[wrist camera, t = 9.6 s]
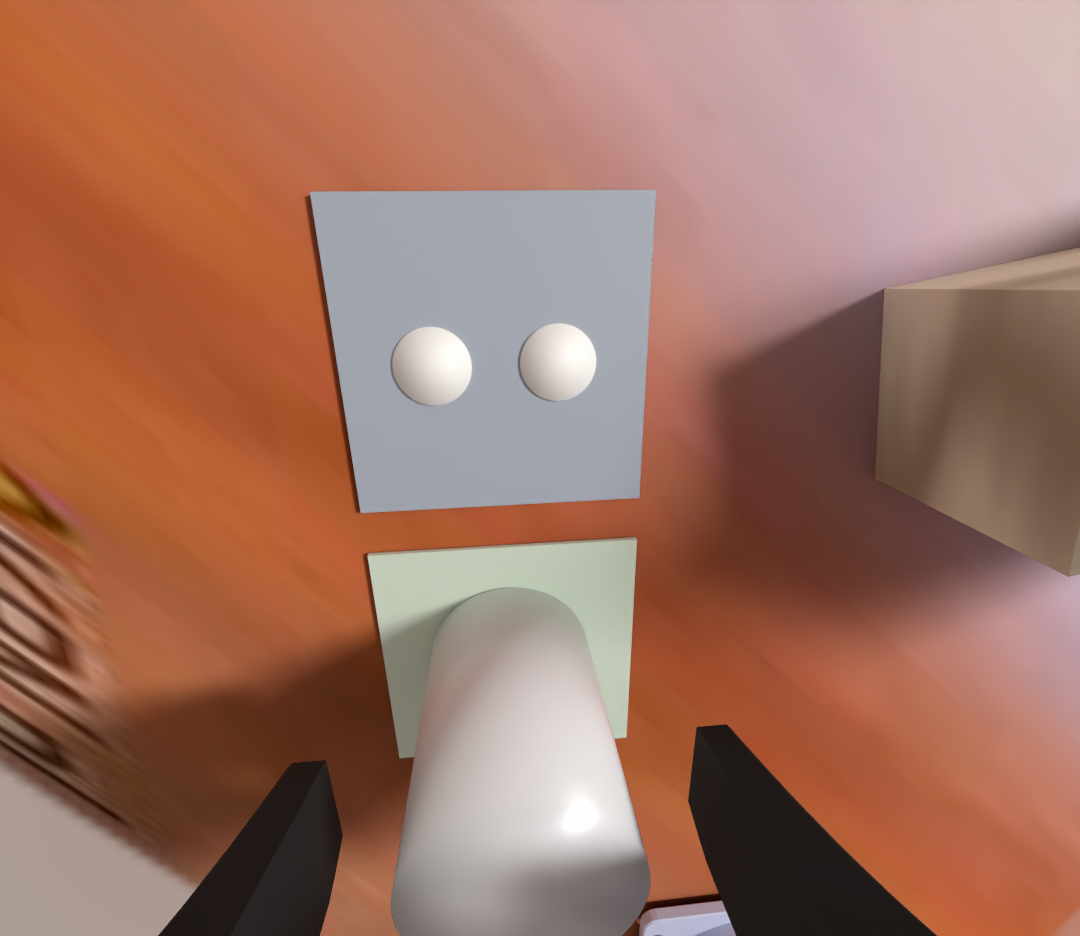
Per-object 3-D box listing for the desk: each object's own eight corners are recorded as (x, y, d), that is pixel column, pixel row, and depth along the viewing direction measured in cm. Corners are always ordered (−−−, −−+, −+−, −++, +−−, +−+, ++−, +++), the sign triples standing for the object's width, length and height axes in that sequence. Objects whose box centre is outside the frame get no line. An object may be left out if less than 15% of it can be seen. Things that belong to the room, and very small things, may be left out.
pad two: (638, 495, 12) (639, 499, 12) (361, 510, 11) (359, 514, 11) (654, 191, 10) (657, 189, 9) (312, 193, 9) (309, 191, 9)
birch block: (1046, 439, 12) (1330, 518, 8) (872, 477, 12) (1069, 576, 8) (1081, 246, 11) (1456, 220, 7) (881, 288, 11) (1130, 290, 7)
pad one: (625, 734, 14) (627, 739, 14) (400, 754, 14) (399, 760, 14) (635, 537, 12) (637, 540, 12) (368, 553, 12) (366, 557, 12)
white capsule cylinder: (586, 707, 14) (643, 960, 9) (439, 721, 13) (406, 992, 8) (588, 581, 12) (658, 792, 7) (423, 593, 12) (374, 822, 7)
